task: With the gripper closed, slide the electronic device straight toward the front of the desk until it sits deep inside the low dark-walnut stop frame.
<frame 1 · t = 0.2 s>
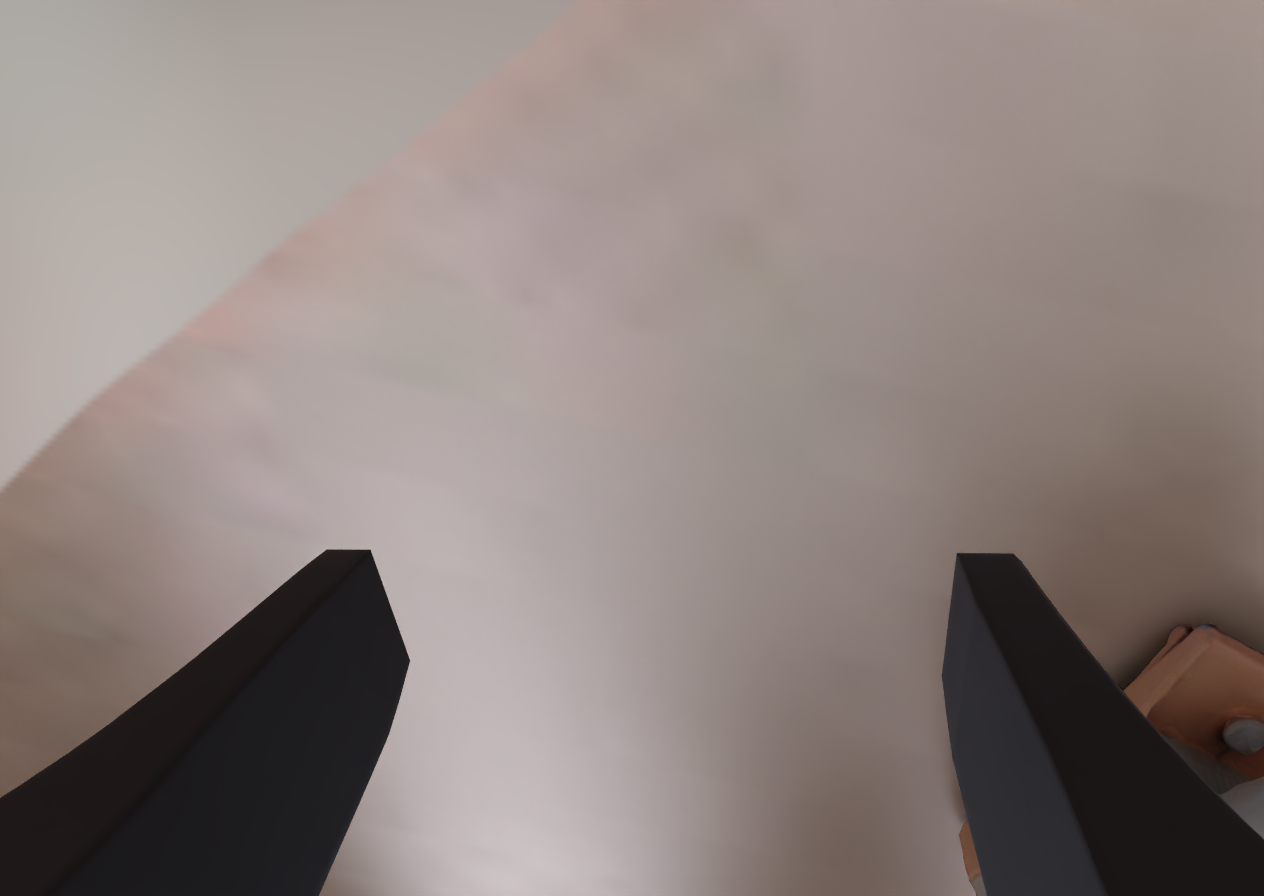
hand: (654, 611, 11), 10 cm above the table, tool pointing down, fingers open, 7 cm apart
electronic device: (1128, 750, 24), on the table
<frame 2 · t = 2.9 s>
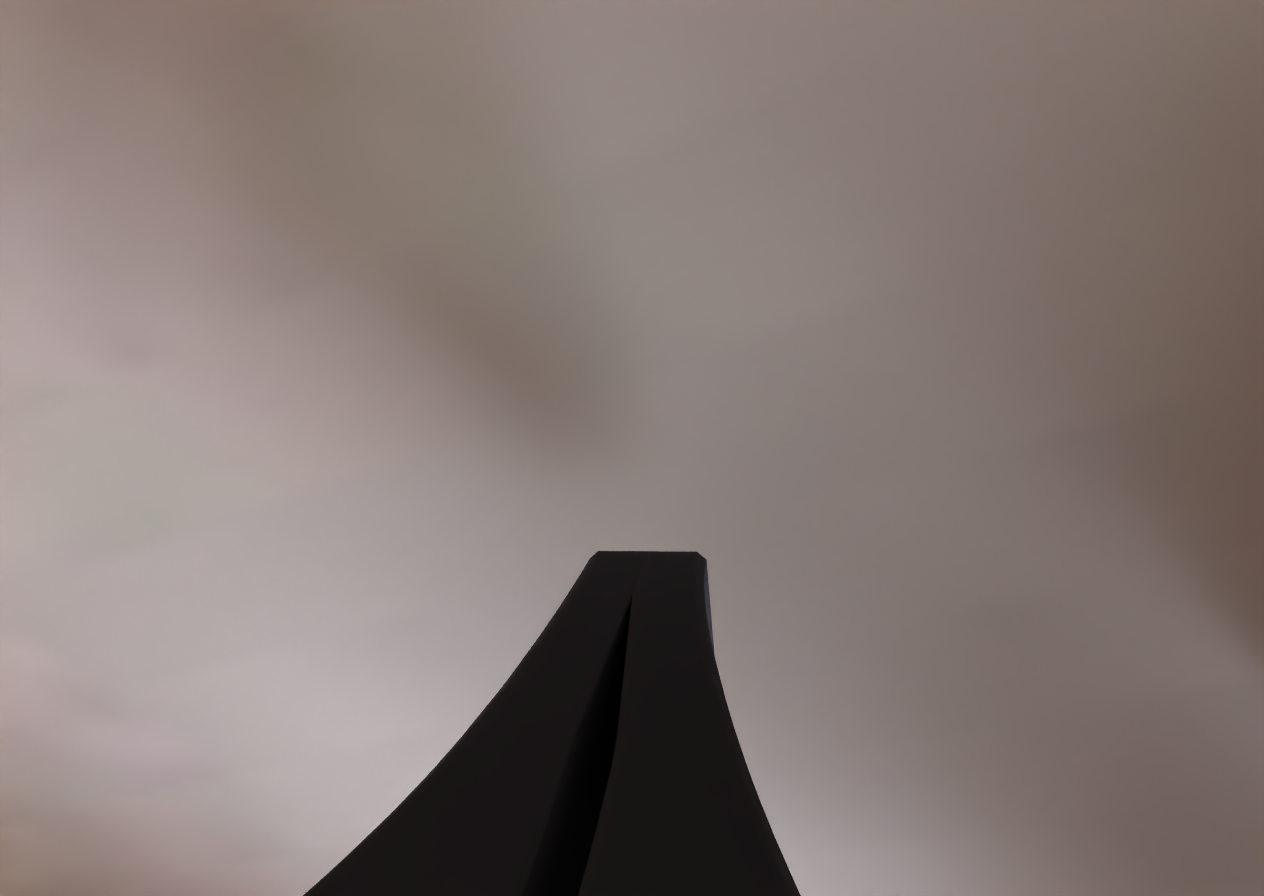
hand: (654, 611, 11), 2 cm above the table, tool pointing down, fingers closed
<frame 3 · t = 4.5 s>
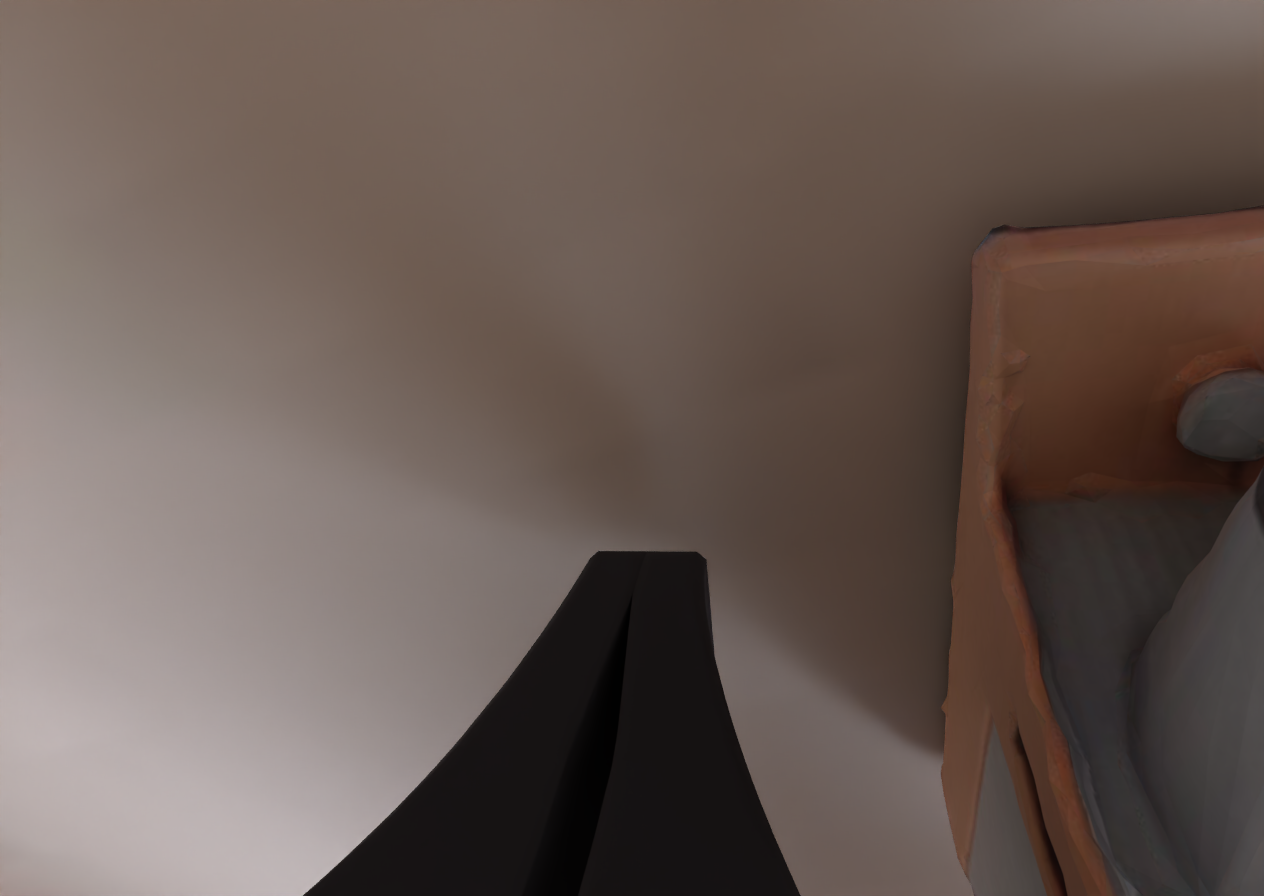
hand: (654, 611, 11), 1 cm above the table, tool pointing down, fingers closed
electronic device: (1120, 529, 11), on the table
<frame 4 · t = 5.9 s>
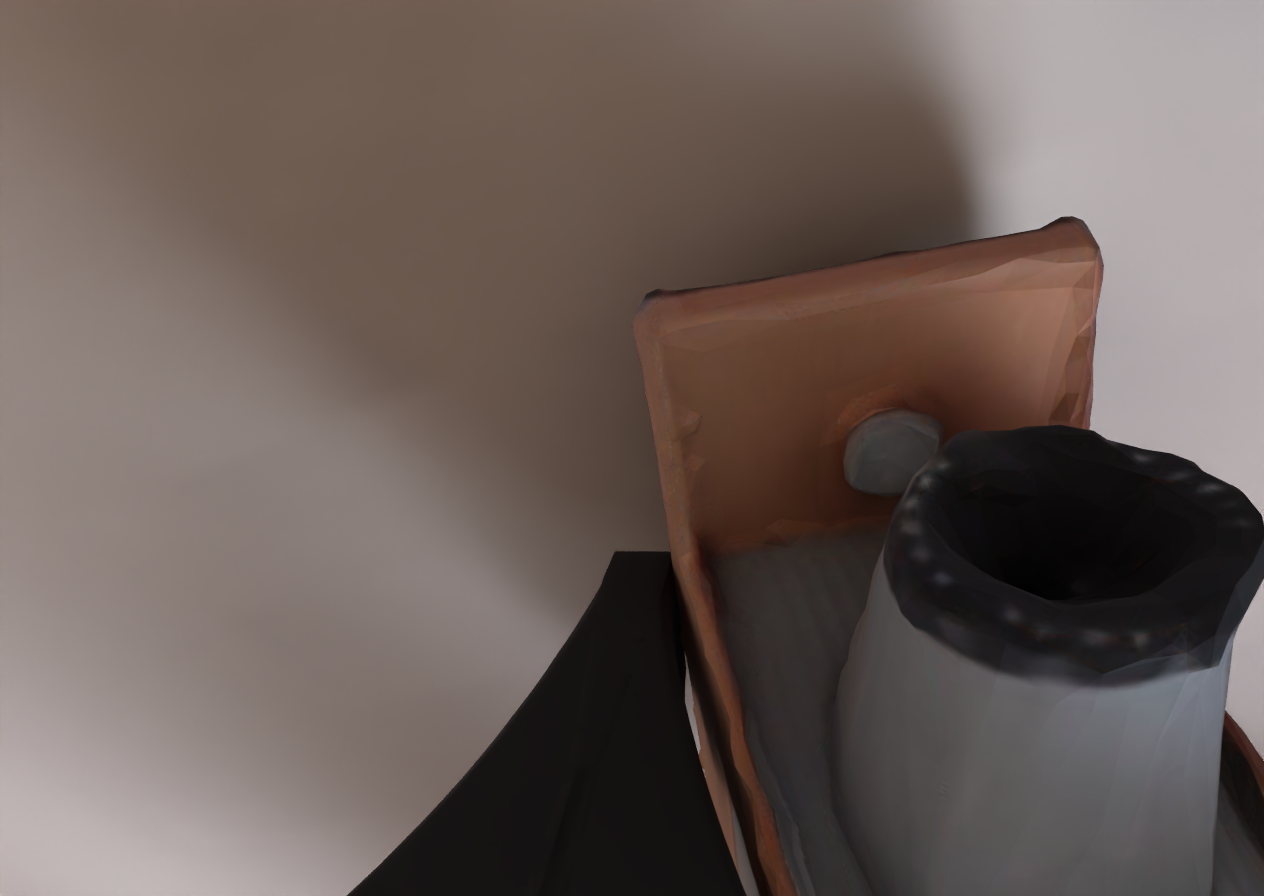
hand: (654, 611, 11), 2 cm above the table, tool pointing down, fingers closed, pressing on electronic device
electronic device: (832, 559, 12), on the table, touching gripper
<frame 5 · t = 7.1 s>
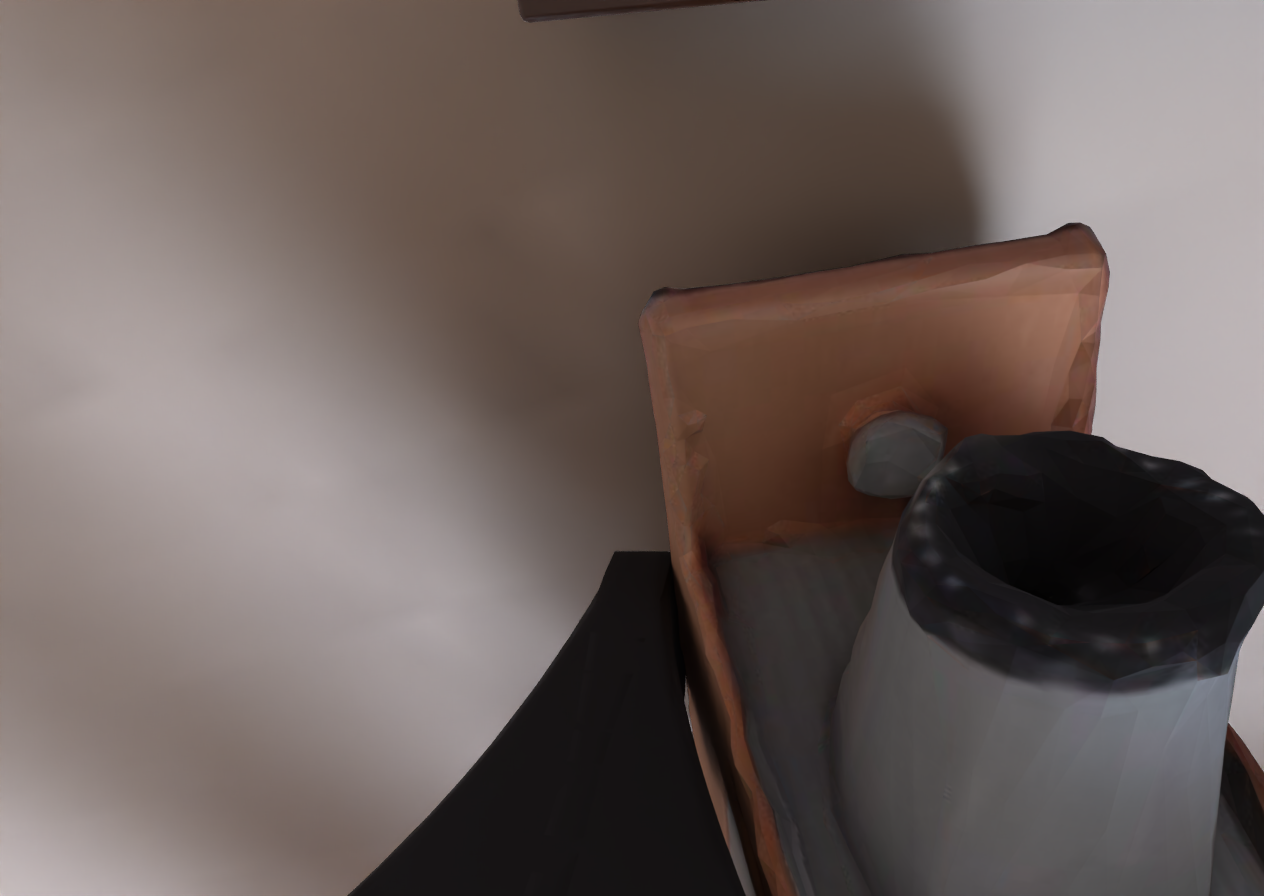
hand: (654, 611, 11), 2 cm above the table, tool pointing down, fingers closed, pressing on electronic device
electronic device: (829, 560, 12), on the table, touching gripper
stop frame: (1097, 546, 12), on the table
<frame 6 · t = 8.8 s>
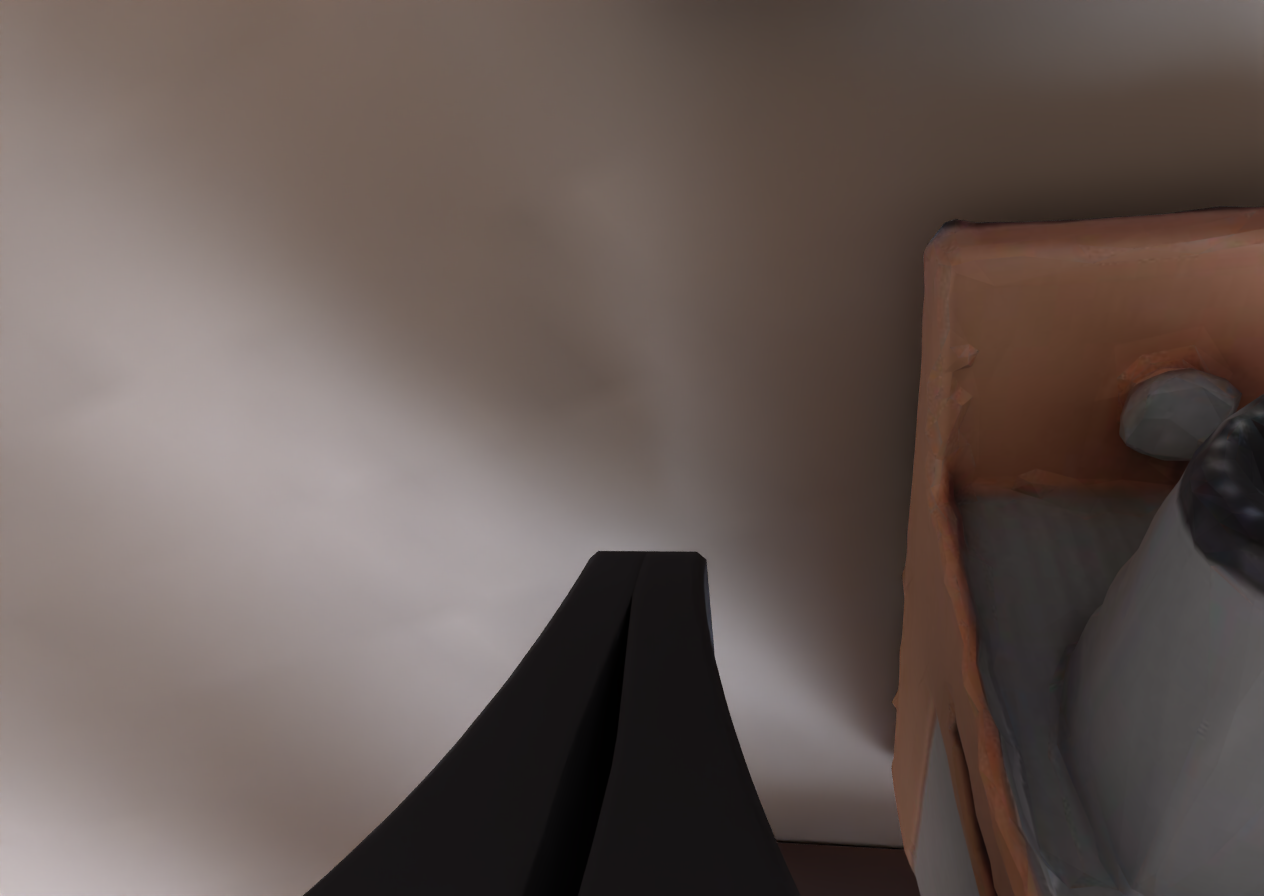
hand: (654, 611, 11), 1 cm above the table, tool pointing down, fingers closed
electronic device: (1070, 528, 12), on the table
stop frame: (1155, 538, 11), on the table
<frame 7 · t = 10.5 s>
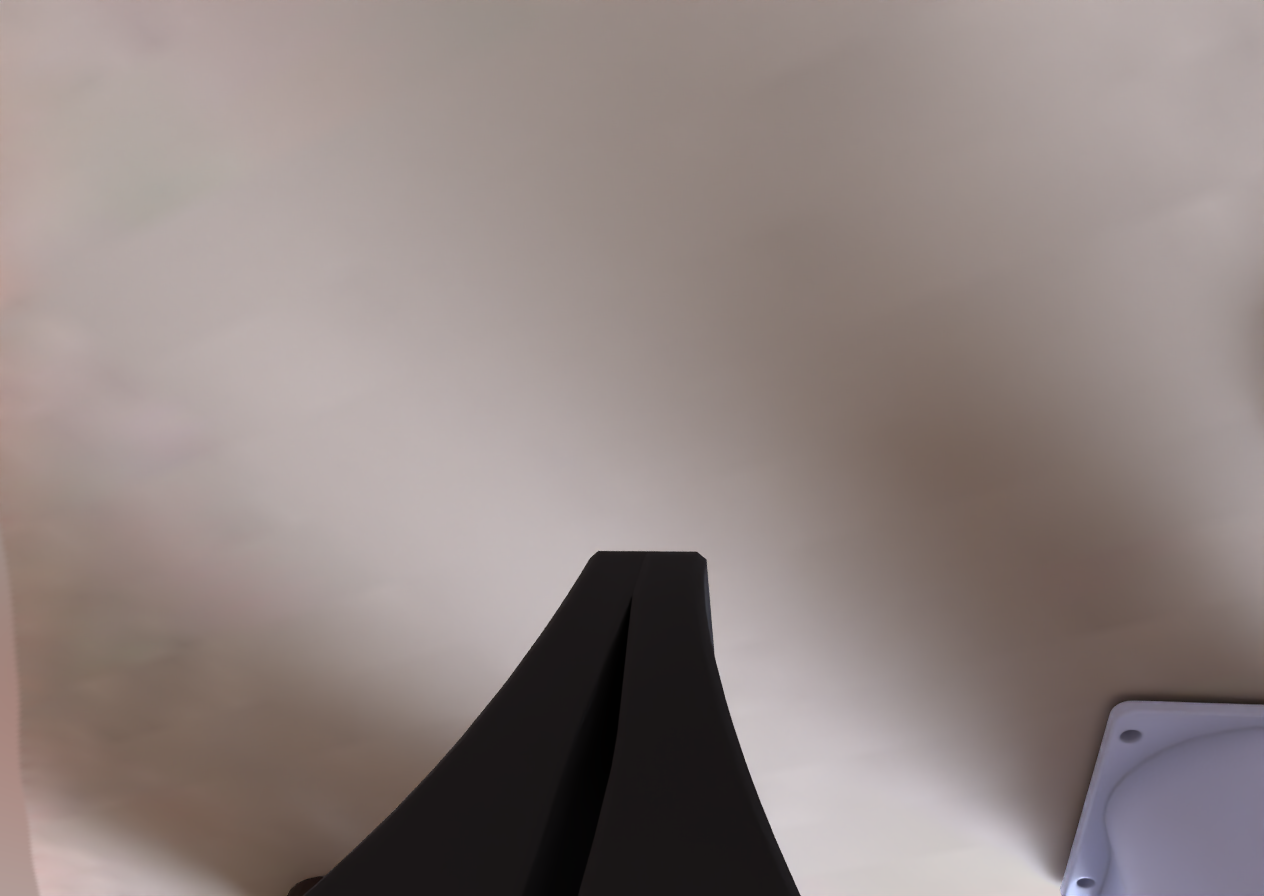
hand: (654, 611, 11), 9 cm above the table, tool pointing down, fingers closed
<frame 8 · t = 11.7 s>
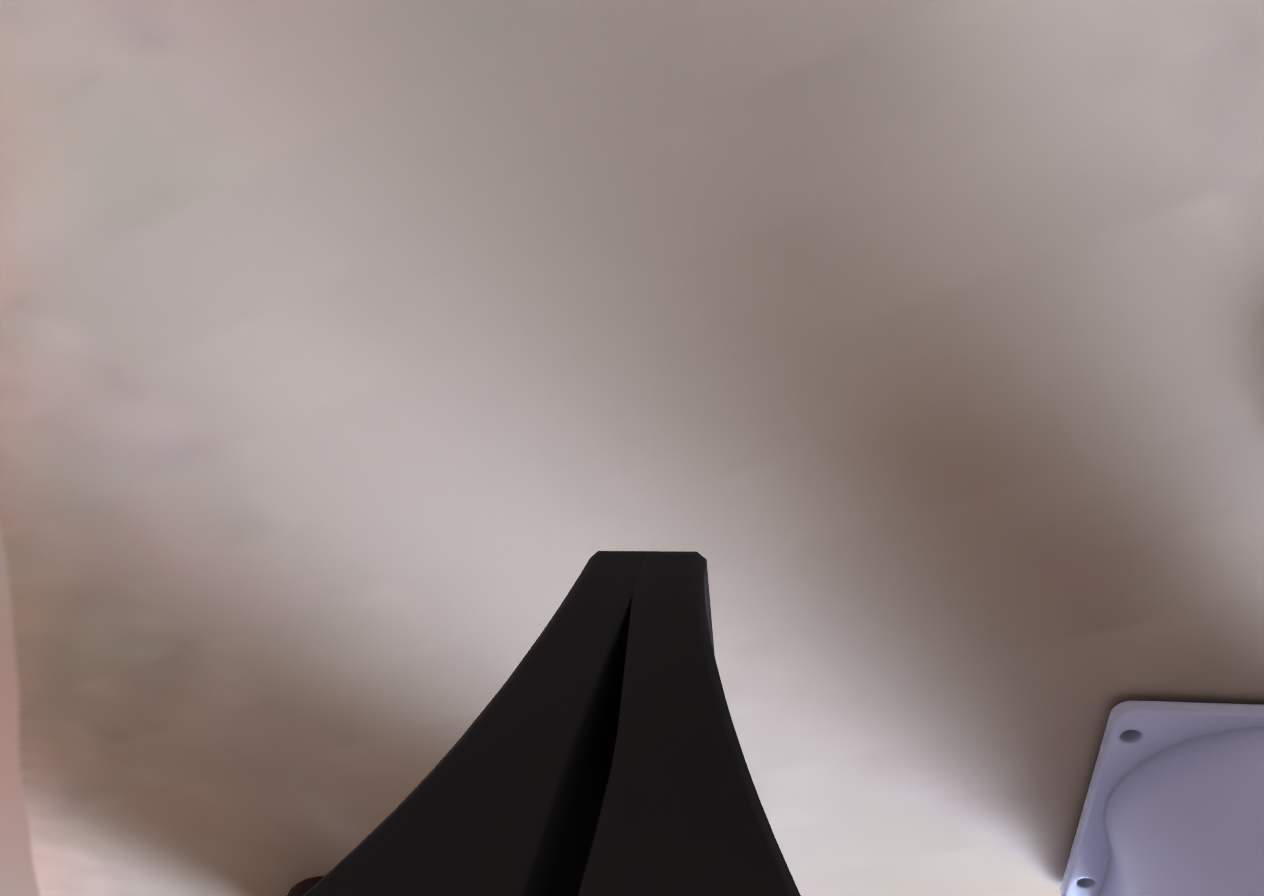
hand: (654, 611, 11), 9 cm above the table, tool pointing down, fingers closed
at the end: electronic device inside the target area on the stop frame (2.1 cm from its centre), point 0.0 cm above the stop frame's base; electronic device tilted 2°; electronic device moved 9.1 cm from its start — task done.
